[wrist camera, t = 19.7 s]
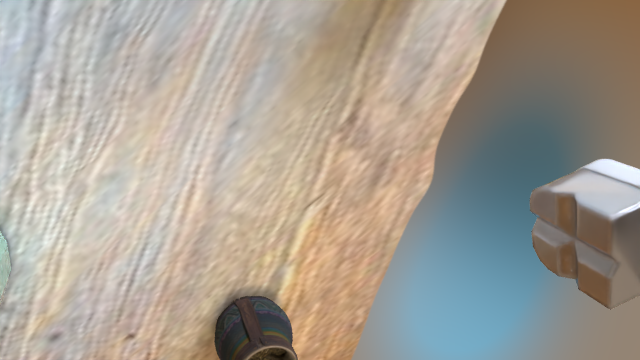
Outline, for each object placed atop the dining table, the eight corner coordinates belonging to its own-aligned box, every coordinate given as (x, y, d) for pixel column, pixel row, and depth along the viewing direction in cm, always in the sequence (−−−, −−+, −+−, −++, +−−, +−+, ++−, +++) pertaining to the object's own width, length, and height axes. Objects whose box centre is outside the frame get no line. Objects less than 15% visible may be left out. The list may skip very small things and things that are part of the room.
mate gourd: (198, 303, 48) (217, 374, 39) (274, 273, 50) (309, 334, 41) (221, 360, 51) (243, 438, 42) (291, 329, 53) (327, 398, 44)
